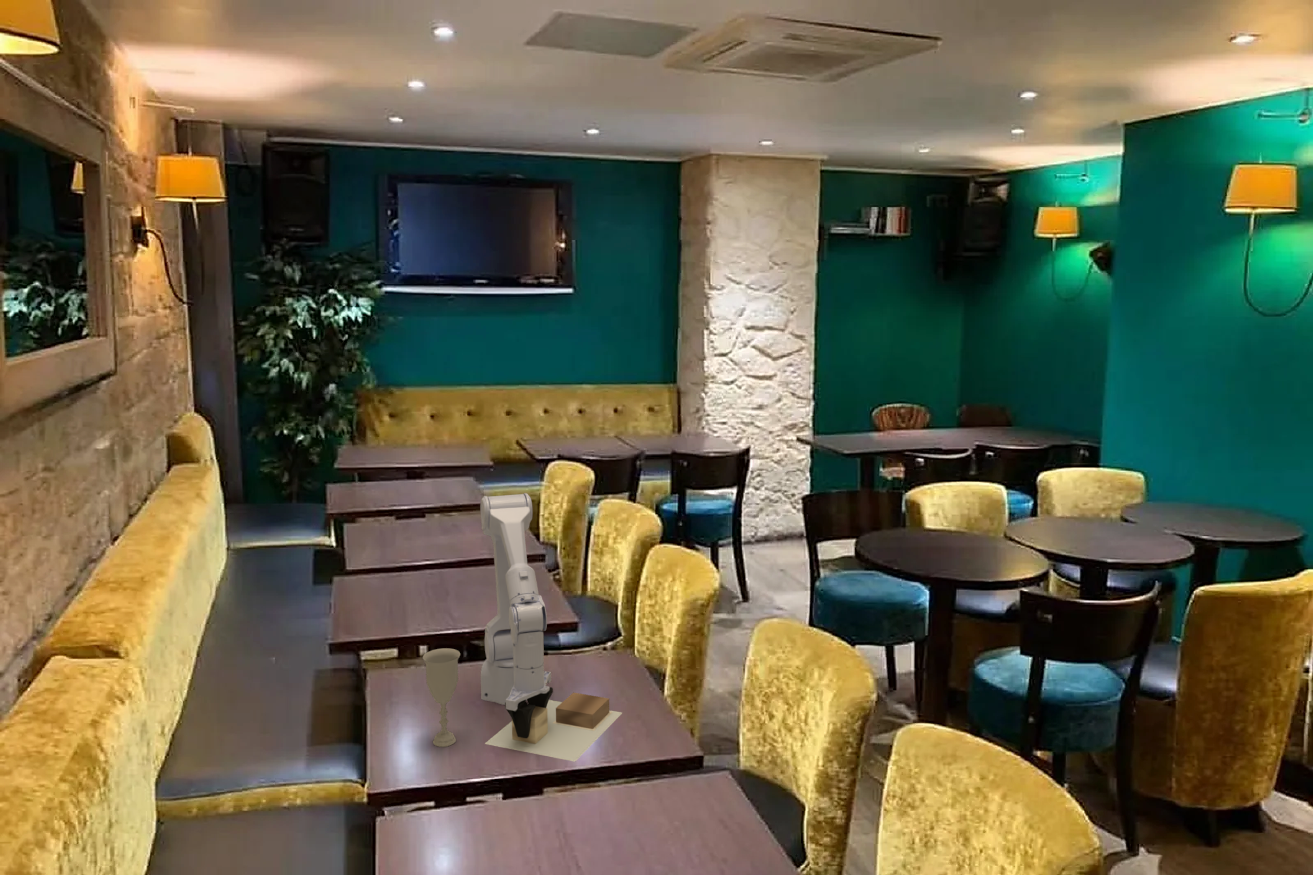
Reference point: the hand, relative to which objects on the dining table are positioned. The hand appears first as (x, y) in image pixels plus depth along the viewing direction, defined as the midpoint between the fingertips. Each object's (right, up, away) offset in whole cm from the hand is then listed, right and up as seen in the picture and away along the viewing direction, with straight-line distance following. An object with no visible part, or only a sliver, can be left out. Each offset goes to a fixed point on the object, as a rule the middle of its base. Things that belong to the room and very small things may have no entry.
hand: (530, 730), depth 193 cm
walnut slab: (+10, 0, +8) cm, 13 cm away
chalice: (-16, -2, -2) cm, 16 cm away
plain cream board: (+5, -1, +4) cm, 6 cm away
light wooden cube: (0, -1, 0) cm, 1 cm away
